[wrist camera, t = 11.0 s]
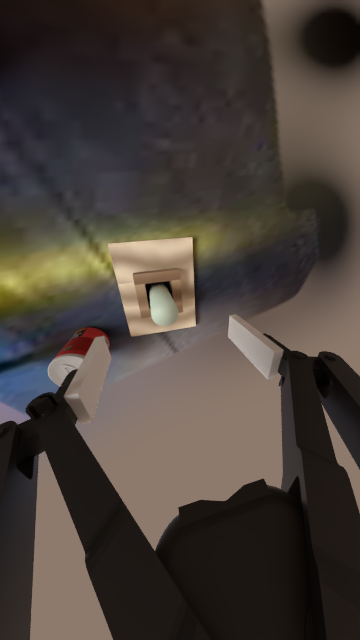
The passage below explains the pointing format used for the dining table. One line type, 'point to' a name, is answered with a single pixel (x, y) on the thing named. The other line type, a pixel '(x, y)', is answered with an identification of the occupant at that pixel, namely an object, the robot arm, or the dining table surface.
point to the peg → (162, 305)
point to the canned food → (73, 353)
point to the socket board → (150, 262)
